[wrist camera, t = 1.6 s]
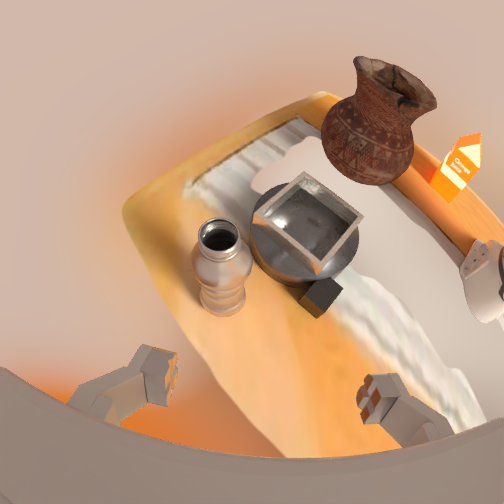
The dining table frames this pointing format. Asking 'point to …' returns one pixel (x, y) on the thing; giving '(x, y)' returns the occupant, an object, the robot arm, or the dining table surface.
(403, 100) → the jug
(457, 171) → the orange juice
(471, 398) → the dining table surface
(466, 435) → the robot arm
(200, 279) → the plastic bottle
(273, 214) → the disc with square tube
